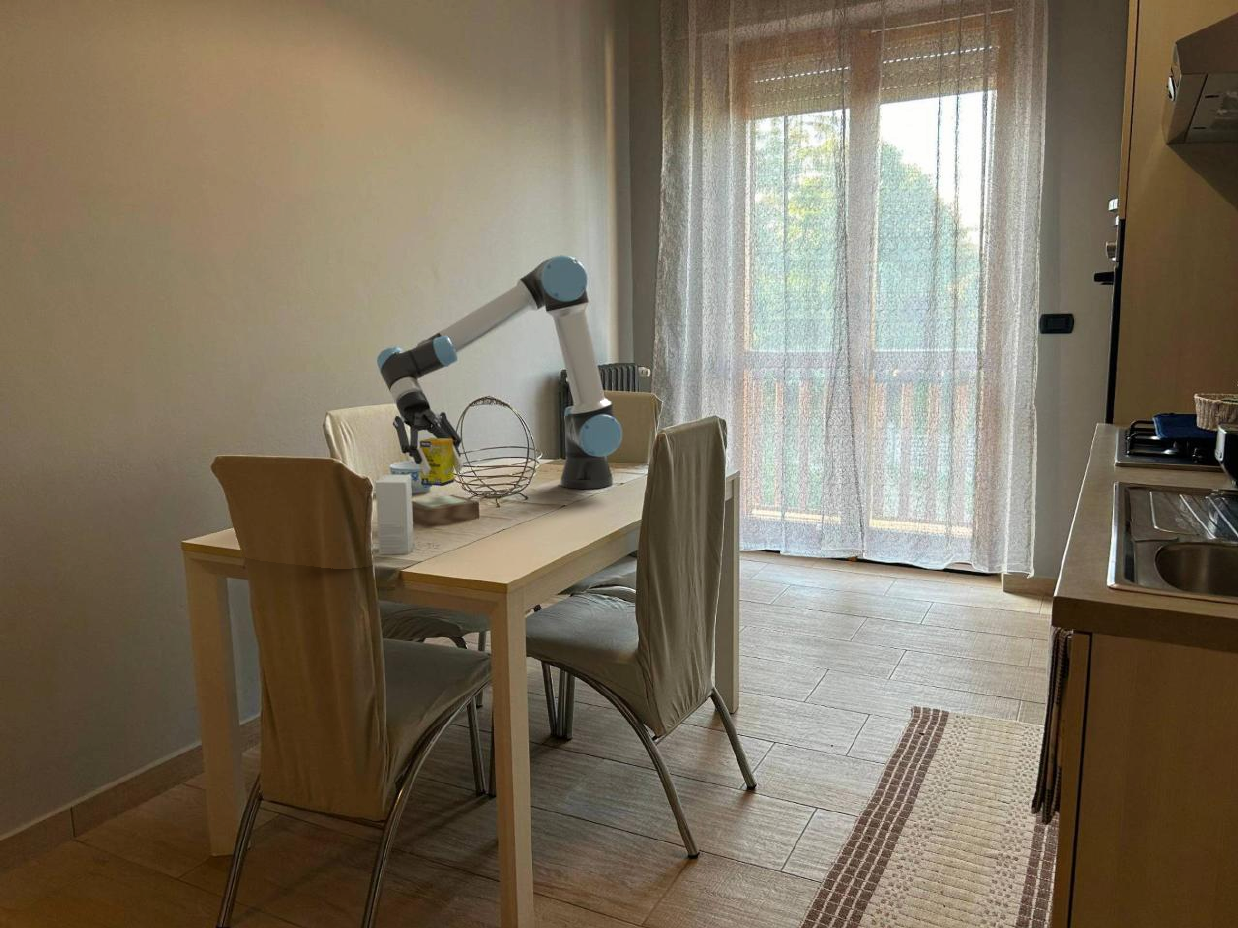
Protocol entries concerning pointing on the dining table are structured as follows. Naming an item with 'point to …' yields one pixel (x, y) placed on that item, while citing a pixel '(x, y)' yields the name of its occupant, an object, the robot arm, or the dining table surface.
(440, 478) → the supplement box
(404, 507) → the skincare box
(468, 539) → the dining table surface
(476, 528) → the dining table surface
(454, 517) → the flat brown box
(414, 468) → the chinaware
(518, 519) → the dining table surface
